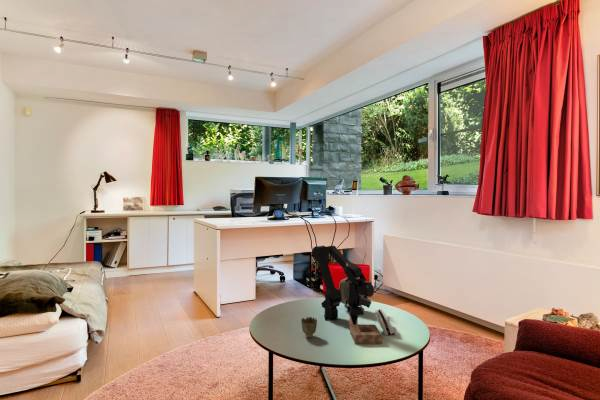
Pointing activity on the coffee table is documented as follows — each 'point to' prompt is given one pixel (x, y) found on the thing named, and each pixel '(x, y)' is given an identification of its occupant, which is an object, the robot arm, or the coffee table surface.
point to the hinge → (384, 322)
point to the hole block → (365, 334)
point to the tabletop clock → (345, 291)
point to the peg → (352, 322)
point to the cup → (309, 326)
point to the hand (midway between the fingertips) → (353, 323)
